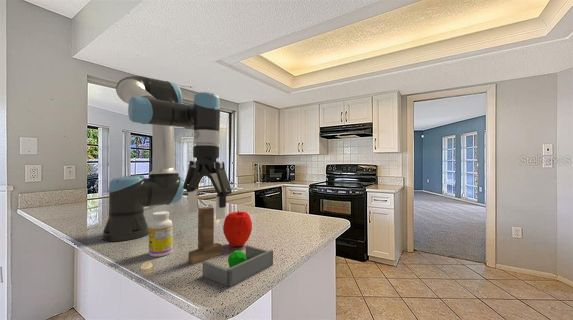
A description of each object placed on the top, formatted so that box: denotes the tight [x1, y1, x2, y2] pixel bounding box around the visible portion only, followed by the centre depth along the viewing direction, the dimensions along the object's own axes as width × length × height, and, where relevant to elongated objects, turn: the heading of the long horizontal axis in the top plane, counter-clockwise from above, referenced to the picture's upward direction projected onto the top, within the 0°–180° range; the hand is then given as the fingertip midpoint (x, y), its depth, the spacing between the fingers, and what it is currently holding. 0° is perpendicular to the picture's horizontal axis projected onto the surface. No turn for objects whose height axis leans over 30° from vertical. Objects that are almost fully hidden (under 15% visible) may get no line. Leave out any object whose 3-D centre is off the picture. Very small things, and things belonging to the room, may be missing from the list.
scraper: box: [187, 206, 223, 265], centre depth 76 cm, size 3×10×15 cm, turn 144°
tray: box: [202, 244, 274, 288], centre depth 67 cm, size 10×16×4 cm, turn 144°
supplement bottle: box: [148, 210, 173, 258], centre depth 79 cm, size 7×7×13 cm
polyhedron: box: [227, 250, 248, 268], centre depth 68 cm, size 5×5×5 cm
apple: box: [222, 210, 253, 247], centre depth 87 cm, size 10×10×12 cm
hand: (205, 215), depth 76 cm, fingers open, 13 cm apart
